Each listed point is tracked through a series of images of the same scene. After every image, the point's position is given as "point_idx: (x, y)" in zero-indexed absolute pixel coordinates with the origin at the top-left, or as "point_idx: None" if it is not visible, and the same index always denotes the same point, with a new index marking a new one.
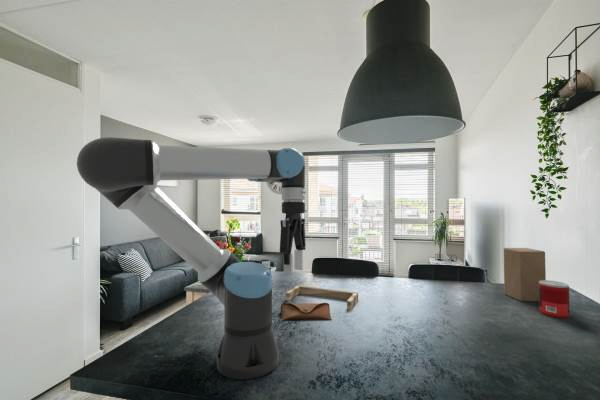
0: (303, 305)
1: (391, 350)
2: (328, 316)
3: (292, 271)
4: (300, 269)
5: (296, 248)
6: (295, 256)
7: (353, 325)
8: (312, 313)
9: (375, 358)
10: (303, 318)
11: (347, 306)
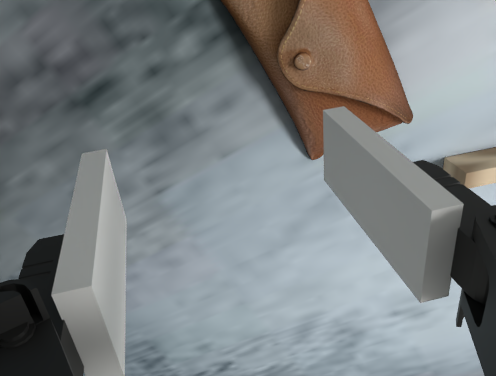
0: (327, 34)
1: (192, 372)
2: (321, 149)
3: (124, 238)
4: (326, 169)
5: (473, 232)
6: (384, 180)
7: (299, 242)
8: (296, 94)
9: (125, 365)
10: (259, 59)
11: (451, 165)
